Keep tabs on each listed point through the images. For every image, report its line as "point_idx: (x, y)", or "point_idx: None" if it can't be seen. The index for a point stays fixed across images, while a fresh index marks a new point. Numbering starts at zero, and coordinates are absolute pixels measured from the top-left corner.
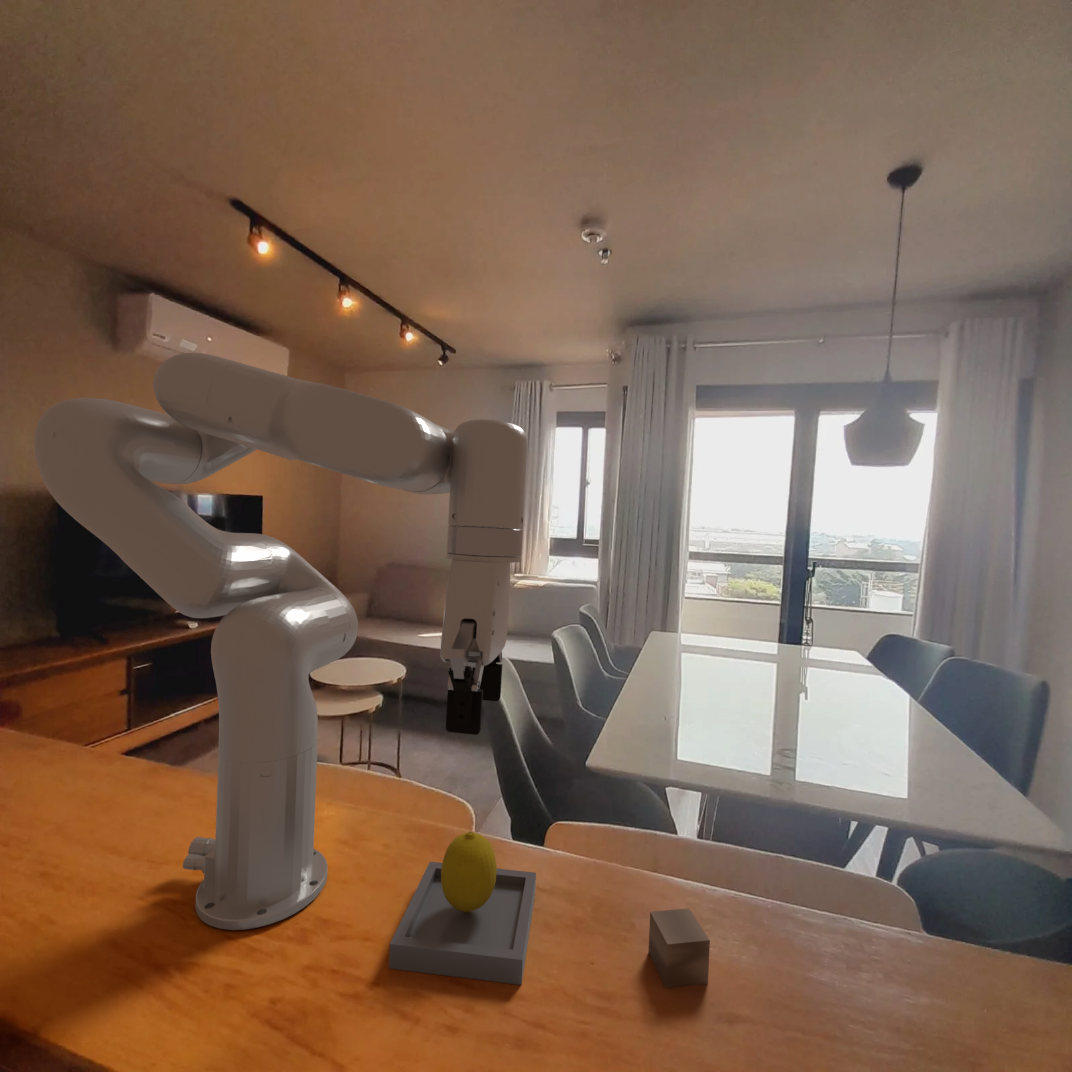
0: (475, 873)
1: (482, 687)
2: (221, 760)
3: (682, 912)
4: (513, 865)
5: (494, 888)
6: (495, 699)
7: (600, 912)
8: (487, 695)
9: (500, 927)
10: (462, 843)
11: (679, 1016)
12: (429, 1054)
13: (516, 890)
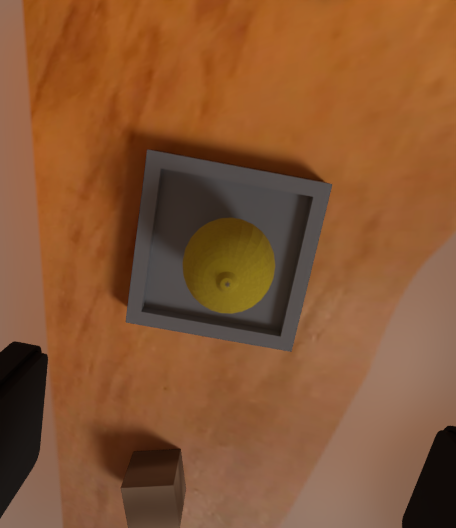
0: (185, 281)
1: (449, 513)
2: None
3: (172, 518)
4: (353, 311)
5: (277, 287)
6: (406, 520)
7: (245, 412)
8: (425, 502)
9: None
10: (211, 267)
11: (102, 453)
12: (47, 215)
13: (272, 317)
